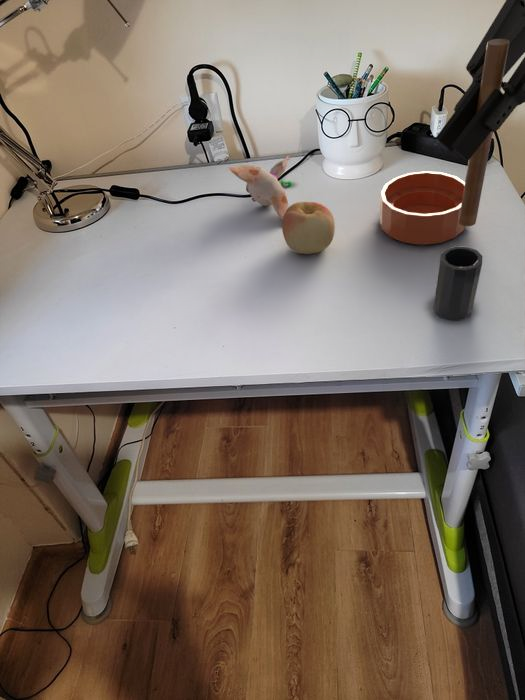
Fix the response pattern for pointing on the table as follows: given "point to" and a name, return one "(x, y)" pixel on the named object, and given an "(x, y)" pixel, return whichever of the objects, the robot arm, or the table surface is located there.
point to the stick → (478, 161)
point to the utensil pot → (457, 282)
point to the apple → (308, 227)
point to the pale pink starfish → (265, 185)
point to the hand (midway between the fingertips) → (452, 149)
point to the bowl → (422, 207)
